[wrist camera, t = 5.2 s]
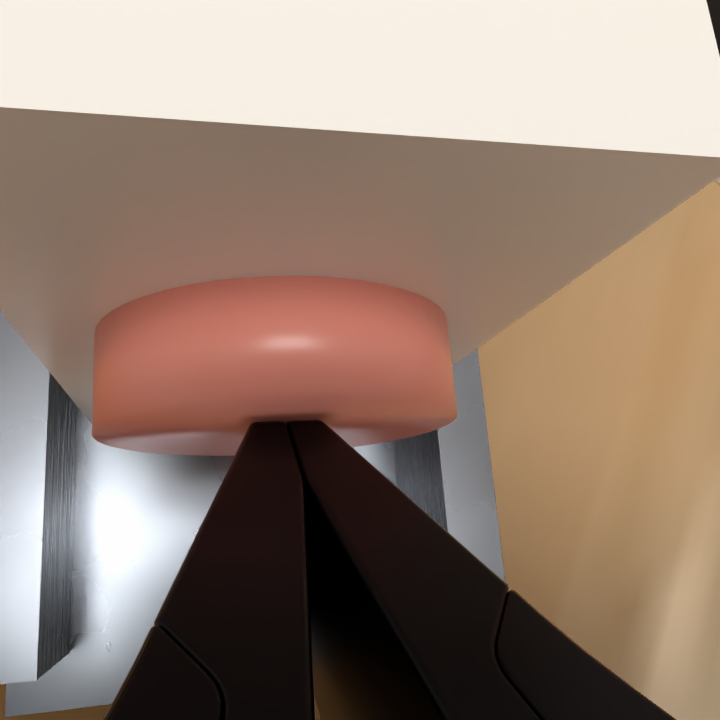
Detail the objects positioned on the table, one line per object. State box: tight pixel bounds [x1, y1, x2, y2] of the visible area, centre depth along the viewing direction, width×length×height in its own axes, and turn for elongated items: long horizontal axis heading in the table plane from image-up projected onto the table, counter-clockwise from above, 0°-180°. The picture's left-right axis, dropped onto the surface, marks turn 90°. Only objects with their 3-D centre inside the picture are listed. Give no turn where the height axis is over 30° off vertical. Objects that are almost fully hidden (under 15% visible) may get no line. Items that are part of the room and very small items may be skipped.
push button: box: [0, 0, 720, 456], centre depth 10 cm, size 5×6×11 cm
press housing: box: [0, 311, 505, 717], centre depth 14 cm, size 14×9×5 cm, turn 4°
